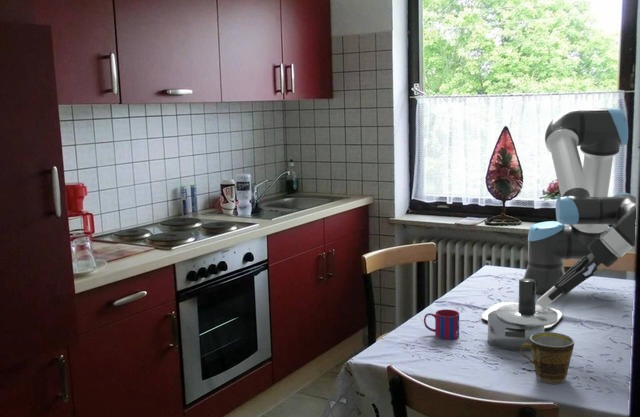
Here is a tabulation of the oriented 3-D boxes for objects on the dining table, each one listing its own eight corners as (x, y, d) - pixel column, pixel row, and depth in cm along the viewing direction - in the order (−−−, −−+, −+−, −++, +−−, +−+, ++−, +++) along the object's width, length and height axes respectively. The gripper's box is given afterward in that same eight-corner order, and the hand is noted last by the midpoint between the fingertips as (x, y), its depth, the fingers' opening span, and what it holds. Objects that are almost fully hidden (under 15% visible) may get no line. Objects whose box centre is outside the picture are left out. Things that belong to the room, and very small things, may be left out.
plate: (567, 314, 207) (567, 309, 207) (547, 336, 189) (547, 330, 189) (499, 304, 219) (499, 299, 219) (474, 323, 201) (474, 318, 201)
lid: (497, 306, 193) (498, 271, 191) (556, 309, 188) (557, 274, 186) (495, 324, 178) (495, 287, 176) (558, 328, 173) (559, 290, 171)
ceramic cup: (559, 368, 166) (561, 330, 164) (581, 385, 156) (582, 344, 155) (510, 373, 164) (511, 334, 163) (529, 390, 154) (530, 349, 153)
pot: (489, 327, 197) (490, 304, 196) (543, 331, 192) (543, 307, 191) (485, 352, 178) (485, 327, 177) (544, 357, 173) (545, 331, 172)
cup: (456, 341, 187) (456, 317, 185) (421, 337, 191) (421, 314, 189) (461, 333, 193) (461, 310, 191) (427, 329, 197) (427, 307, 195)
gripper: (596, 232, 180) (530, 288, 188) (601, 242, 168) (530, 302, 176) (616, 251, 180) (549, 307, 187) (623, 263, 167) (551, 322, 175)
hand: (540, 304), depth 181 cm, fingers closed
